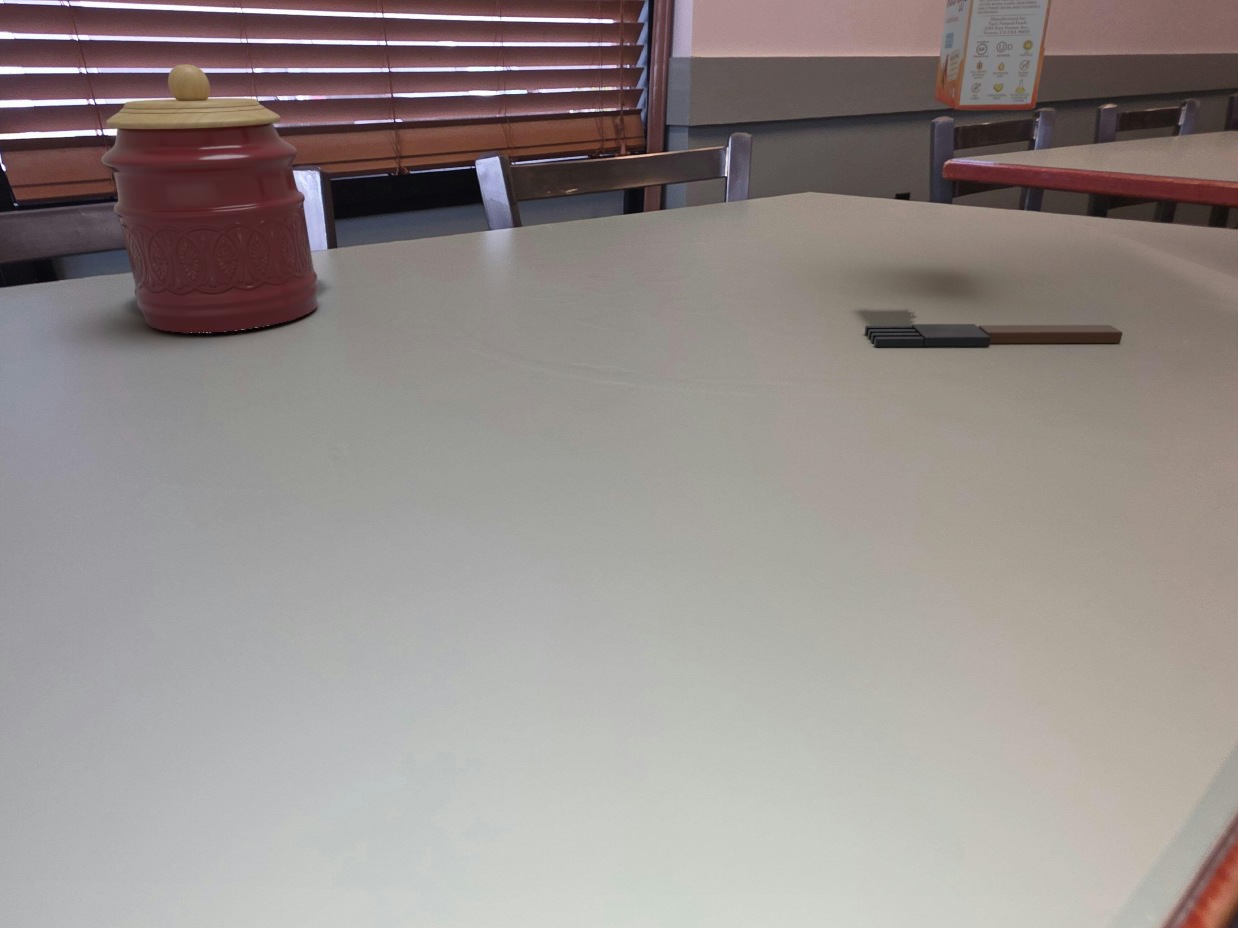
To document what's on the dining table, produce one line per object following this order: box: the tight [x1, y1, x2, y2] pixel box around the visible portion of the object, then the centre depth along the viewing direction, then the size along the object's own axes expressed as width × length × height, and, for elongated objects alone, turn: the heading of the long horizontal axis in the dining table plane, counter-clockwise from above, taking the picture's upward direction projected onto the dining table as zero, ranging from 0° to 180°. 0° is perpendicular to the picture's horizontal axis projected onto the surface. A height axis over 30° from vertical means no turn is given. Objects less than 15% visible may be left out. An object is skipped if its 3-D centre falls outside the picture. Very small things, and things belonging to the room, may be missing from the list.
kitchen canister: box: [101, 63, 320, 334], centre depth 64 cm, size 13×13×18 cm
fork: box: [864, 323, 1123, 348], centre depth 59 cm, size 17×3×1 cm, turn 89°
